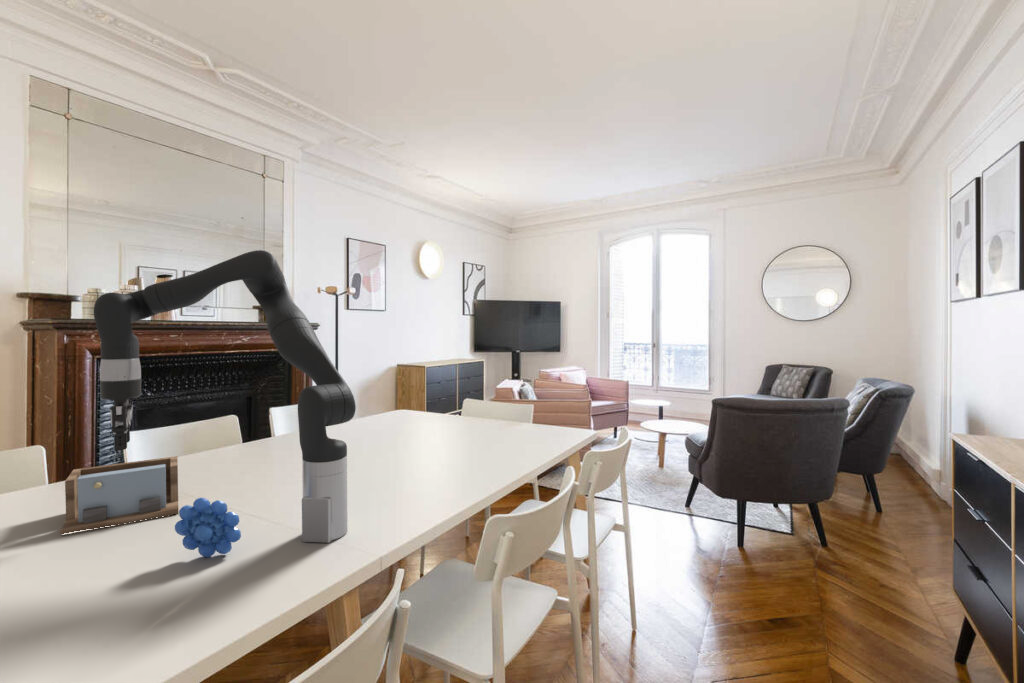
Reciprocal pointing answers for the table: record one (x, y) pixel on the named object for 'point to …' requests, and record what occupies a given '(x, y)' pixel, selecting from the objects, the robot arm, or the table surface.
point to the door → (121, 489)
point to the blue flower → (208, 527)
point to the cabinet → (99, 514)
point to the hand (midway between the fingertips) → (122, 446)
